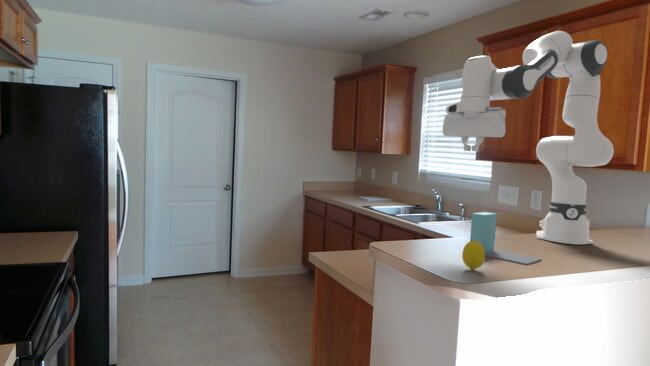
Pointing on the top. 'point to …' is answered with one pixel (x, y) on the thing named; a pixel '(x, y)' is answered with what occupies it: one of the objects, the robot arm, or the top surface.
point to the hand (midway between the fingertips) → (471, 151)
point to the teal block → (484, 229)
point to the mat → (512, 257)
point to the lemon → (473, 255)
